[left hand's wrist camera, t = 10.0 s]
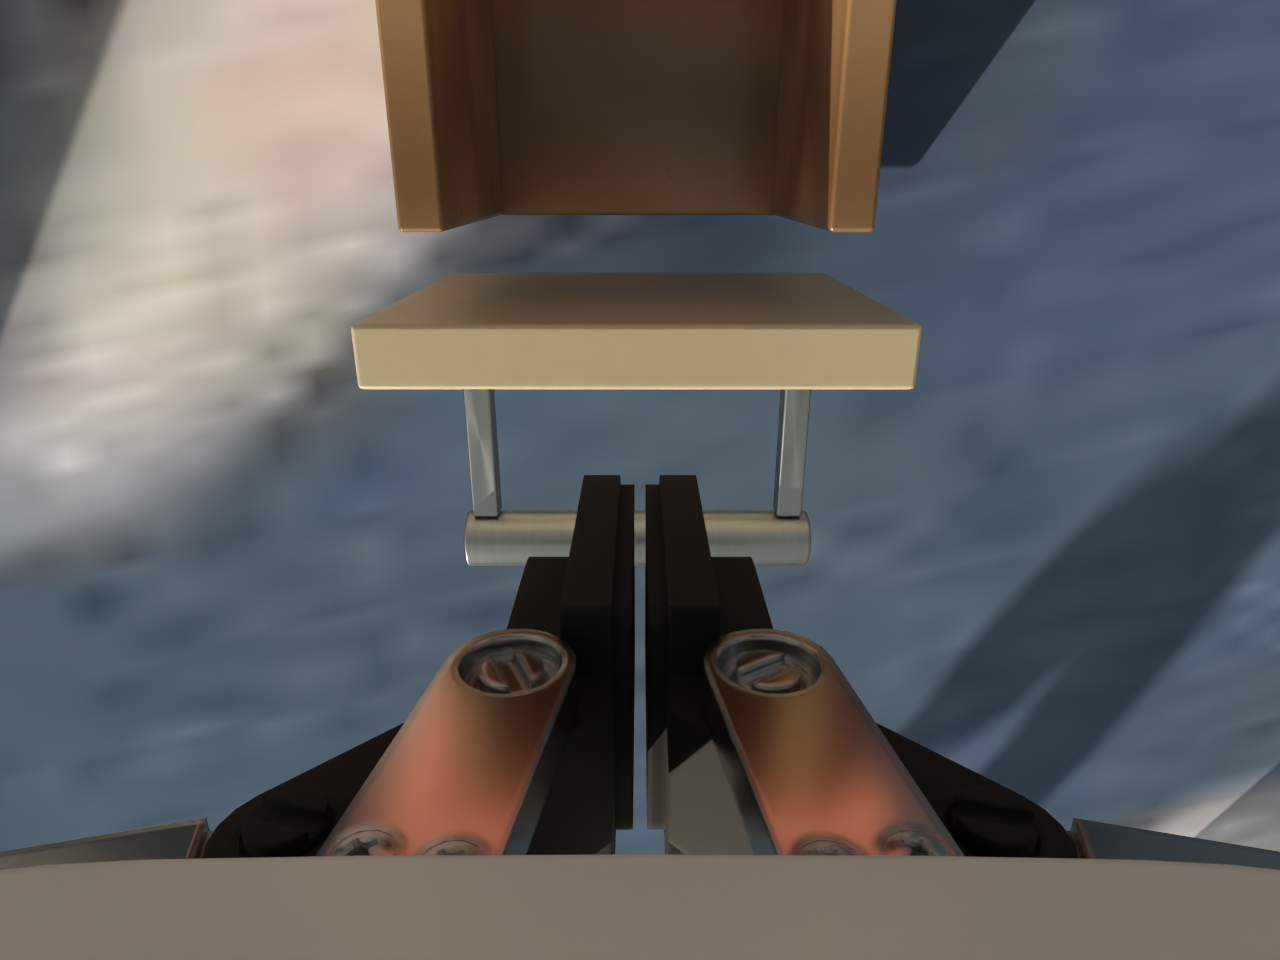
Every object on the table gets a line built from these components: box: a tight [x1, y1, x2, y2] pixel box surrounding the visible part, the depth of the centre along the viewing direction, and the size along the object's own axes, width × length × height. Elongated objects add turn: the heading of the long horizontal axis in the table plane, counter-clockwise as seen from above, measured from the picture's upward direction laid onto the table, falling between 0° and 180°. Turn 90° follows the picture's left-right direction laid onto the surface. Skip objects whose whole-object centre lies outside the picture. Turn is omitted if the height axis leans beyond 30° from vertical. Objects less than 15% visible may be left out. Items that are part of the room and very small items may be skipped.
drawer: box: [351, 0, 922, 566], centre depth 16 cm, size 24×10×8 cm, turn 0°
